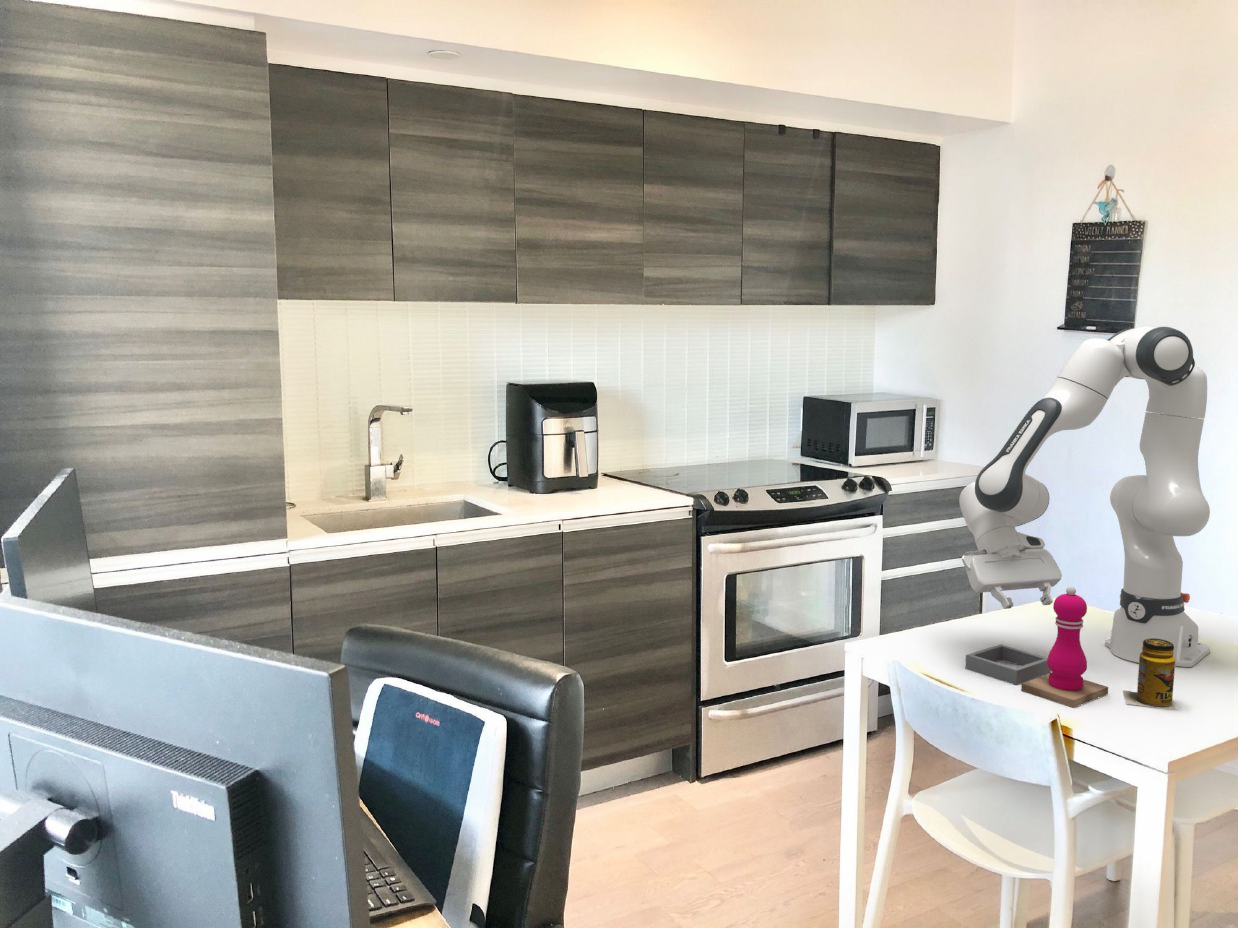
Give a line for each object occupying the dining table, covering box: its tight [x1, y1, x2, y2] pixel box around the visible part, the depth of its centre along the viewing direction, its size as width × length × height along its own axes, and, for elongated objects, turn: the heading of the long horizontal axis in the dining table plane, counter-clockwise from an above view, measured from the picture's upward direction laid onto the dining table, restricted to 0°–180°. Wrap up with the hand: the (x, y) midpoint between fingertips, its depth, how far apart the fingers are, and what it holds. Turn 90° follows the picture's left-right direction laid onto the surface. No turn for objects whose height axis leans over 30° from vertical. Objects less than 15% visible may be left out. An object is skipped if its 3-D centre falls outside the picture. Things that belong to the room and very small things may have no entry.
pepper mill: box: [1046, 585, 1088, 691], centre depth 195 cm, size 7×7×20 cm
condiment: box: [1122, 638, 1177, 711], centre depth 191 cm, size 7×8×12 cm
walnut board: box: [1020, 673, 1109, 709], centre depth 197 cm, size 12×11×2 cm
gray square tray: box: [965, 644, 1052, 686], centre depth 209 cm, size 12×12×3 cm
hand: (1028, 605), depth 206 cm, fingers open, 8 cm apart
